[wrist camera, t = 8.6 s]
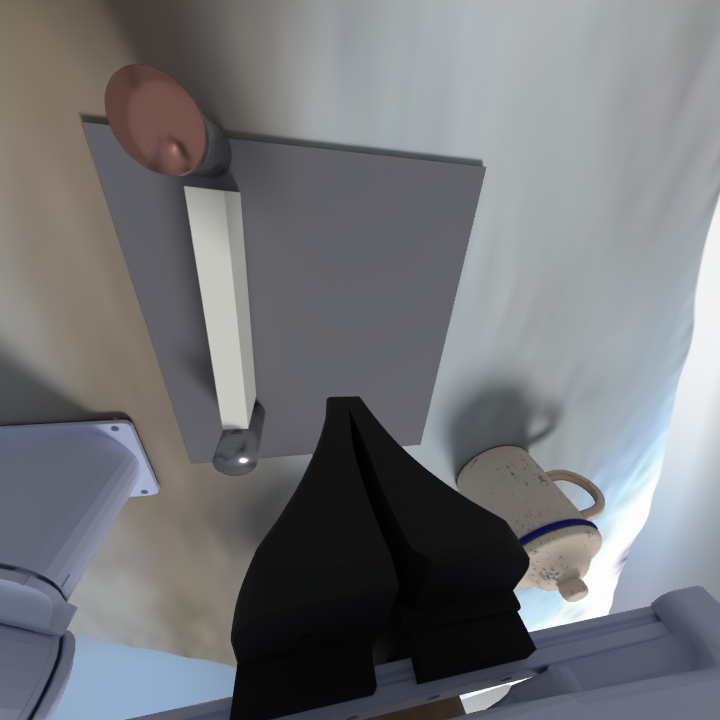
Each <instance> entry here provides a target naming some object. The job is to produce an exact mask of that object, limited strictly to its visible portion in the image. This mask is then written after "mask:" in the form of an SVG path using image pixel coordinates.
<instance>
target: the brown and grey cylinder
mask: <svg viewBox="0 0 720 720" xmlns="http://www.w3.org/2000/svg"><path fill="white" fill-rule="evenodd" d="M105 110H106V115H107V119H108V122H109V125H110V127H111V129H112V132H113V134H114V135H115V137H116V139H117V141H118V142H119V143H120V145H121V146H122V147H123V149H124V150H125V151H126V152H127V153H128V154H129V155H130V156H131V157H132V158H133V159H134V160H135V161H136V162H138V163H139V164H141V165H142V166H143V167H145V168H147V169H149V170H151V171H153V172H156V173H159V174H163V175H169V176H186V175H189V174H194V175H198V176H203V177H208V178H216V177H219V176H221V175H223V174H224V173H225V172H226V171H227V170H228V169H229V166H230V164H231V159H232V151H231V146H230V143H229V140H228V137H227V135H226V134H225V132H224V131H223V130H222V129H221V128H220V127H219V126H218V125H217V124H216V123H214V122H213V121H212V120H211V119H210V118H209V117H207V116H206V115H205V114H204V113H203V112H201V110H200V108H199V106H198V105H197V103H196V102H195V100H194V99H193V98H192V96H191V95H190V94H189V93H188V92H187V91H186V90H185V89H184V88H183V87H182V86H181V85H180V84H179V83H178V82H176V81H175V80H174V79H173V78H172V77H170V76H169V75H167V74H166V73H164V72H163V71H161V70H159V69H157V68H154V67H151V66H148V65H142V64H133V65H128V66H125V67H123V68H121V69H119V70H118V71H117V72H115V73H114V74H113V76H112V77H111V78H110V80H109V82H108V85H107V88H106V92H105Z"/></svg>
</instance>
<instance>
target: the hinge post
mask: <svg viewBox="0 0 720 720" xmlns="http://www.w3.org/2000/svg"><path fill="white" fill-rule="evenodd" d="M264 419H265V409H264V407H263V406H262V405H261V404H260V403H258V402H256V401H255V403H254V407H253V411H252V415H251V419H250V423H249V427H248V429H223V431H222V434H221V437H220V439H219V442H218V445H217V448H216V451H215V454H214V457H213V461H212V462H213V466H214V467H215V468H216V469H217V470H218V471H219V472H221V473H223V474H226V475H230V476H239V475H244V474H247V473H249V472H251V471H252V470H253V469H254V468H255V466H256V464H257V459H258V453H259V448H260V442H261V436H262V431H263V425H264Z"/></svg>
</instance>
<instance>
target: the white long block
mask: <svg viewBox="0 0 720 720" xmlns="http://www.w3.org/2000/svg"><path fill="white" fill-rule="evenodd" d="M184 190H185V196H186V203H187V209H188V215H189V221H190V228H191V234H192V240H193V247H194V253H195V259H196V265H197V272H198V278H199V284H200V290H201V297H202V303H203V309H204V315H205V322H206V328H207V334H208V341H209V347H210V353H211V359H212V366H213V372H214V378H215V384H216V391H217V397H218V403H219V409H220V416H221V422H222V428H223V429H248V427H249V423H250V419H251V415H252V411H253V407H254V403H255V398H256V387H255V374H254V361H253V349H252V336H251V323H250V310H249V297H248V285H247V272H246V259H245V246H244V234H243V221H242V208H241V195H240V192H232V191H224V190H216V189H208V188H198V187H188V186H184Z"/></svg>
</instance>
